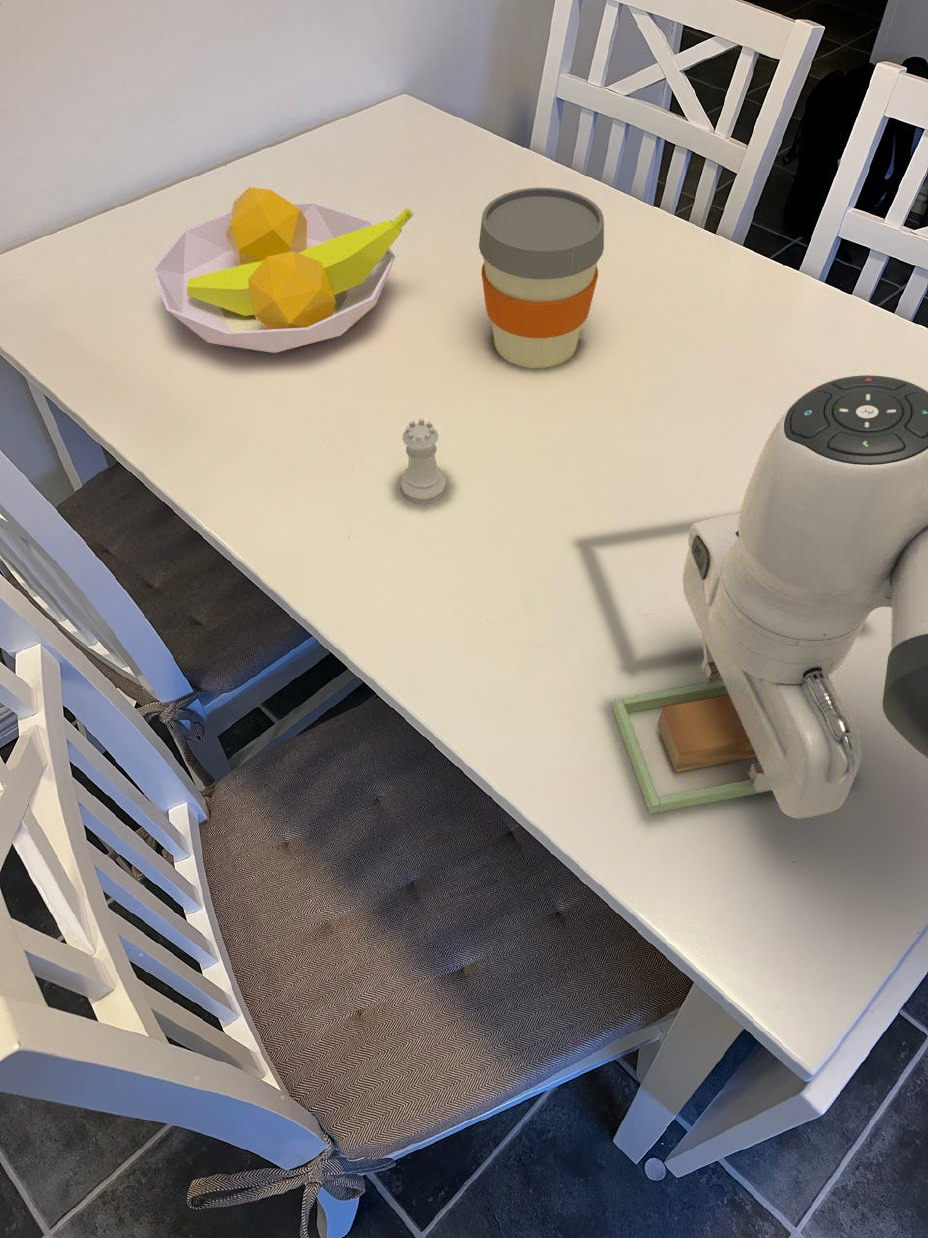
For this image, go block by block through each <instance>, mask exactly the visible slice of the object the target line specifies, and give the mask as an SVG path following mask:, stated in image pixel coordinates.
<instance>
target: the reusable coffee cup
mask: <svg viewBox="0 0 928 1238" xmlns="http://www.w3.org/2000/svg"><path fill="white" fill-rule="evenodd" d="M478 239H479V240H478V241H479V242H478V249H479V252H480V254H481V256H482V258H483V264H482V265H481V280H482V286H483V288H482V289H483V294H484V303H485V310H486V313H487V316H488V318H489V320H490V321H491V326H492V335H493V341H494V346H495V349H496V351H497V353H498V355H500V357H502V359H504V360H505V361H507V362H508V363H511V364H512V365H515V366H519V367H522V368H528V369H546V368H551V367H556V366H558V365H561V364H563V363H564V362H566V361H568V360H570V358H571V357H572V356H573V355H574V354H575V352H576V349H577V345H578V342H579V337H580V334H581V330H582V326H583V324H584V323H585V322H586V320H587V318H588V317H589V313H590V309H591V305H592V302H593V298H594V294H595V289H596V286H597V281H598V278H599V268H598V266H597V265H598V262H599V260H600V259H601V257H602V256H603V252H604V249H605V219H604V214H603V212H602V209H600V208H599V206H598V205H597V204H596V203H595V202H594V201H592V200H591V199H590V198H587V197H586V196H583V195H582V194H579V193H576V192H574V191H570V190H566V189H562V188H553V187H528V188H522V189H517V190H513V191H510V192H506V193H503V194H502V195H499V196H497V197H496V198H494V199H493V200H492V201H490V202H489V203H488V204H487V205H486V206H485V208H484V210H483V212H482V215H481V222H480V232H479V238H478Z"/></svg>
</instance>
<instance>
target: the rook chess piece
mask: <svg viewBox="0 0 928 1238" xmlns="http://www.w3.org/2000/svg"><path fill="white" fill-rule="evenodd" d="M439 435H440V434H439V433H438V431H437V430H436V429H435V427H434V426H433V423H432V422H431V421H429V420H428V421H427V422H426V423H425V419H422V418H421V419H420V418H419V419H418V422H417V423H416V422H415V421H414V420H411V421H409V422H408V425H406V426H405V431H404V432H403V433H402V440H403V443H404V445H406V448H405V453H406V455H407V456H408V464H407V468H405V471H404V473H403V475H402V477H401V481H400V487H401V490H402V493H403V496H404V498H406V499H407V500H409V501H411V502H413V503H416V504H424V505H425V504H430V503H435V502H436V501H437V500H439V499H441V498H442V497H443V495H444V494H445V492H446V484H447V479H446V478H445V475H444V473H443V471H442V470H441V469H440V467H439V466H438V464H437V459H436V455H435V454H436V453H437V450H438V447H437V446H436V443H437V442H438V441H439Z"/></svg>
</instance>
